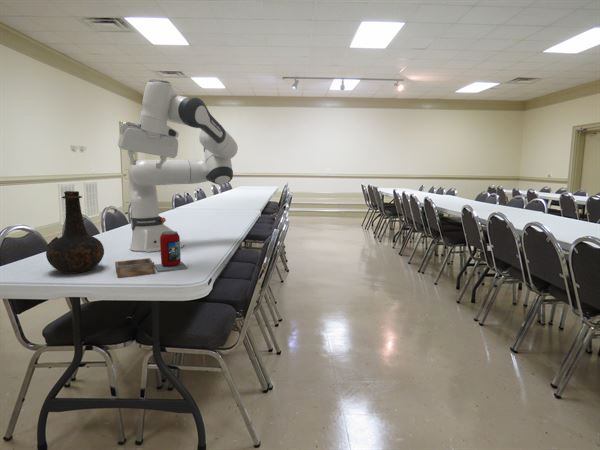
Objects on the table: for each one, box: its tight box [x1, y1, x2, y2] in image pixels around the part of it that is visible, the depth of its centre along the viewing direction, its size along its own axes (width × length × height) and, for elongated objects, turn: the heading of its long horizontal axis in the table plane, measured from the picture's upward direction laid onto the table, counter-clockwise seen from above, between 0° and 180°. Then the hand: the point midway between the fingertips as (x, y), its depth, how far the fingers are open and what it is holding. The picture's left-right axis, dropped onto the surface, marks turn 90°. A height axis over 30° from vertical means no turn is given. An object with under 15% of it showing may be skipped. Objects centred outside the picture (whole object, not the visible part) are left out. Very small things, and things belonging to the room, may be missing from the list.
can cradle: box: [114, 257, 156, 278], centre depth 140 cm, size 12×12×4 cm
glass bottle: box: [45, 190, 105, 274], centre depth 141 cm, size 18×18×28 cm
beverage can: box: [160, 230, 182, 267], centre depth 146 cm, size 7×7×12 cm
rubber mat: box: [154, 261, 189, 273], centre depth 146 cm, size 10×10×1 cm
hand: (145, 166), depth 142 cm, fingers open, 8 cm apart
